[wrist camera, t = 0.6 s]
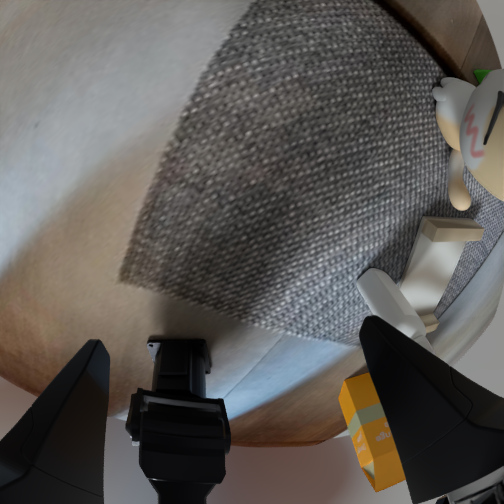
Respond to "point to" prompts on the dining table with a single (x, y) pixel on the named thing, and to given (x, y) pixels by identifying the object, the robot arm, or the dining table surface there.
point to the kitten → (473, 132)
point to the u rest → (435, 262)
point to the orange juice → (370, 432)
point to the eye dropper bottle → (392, 305)
